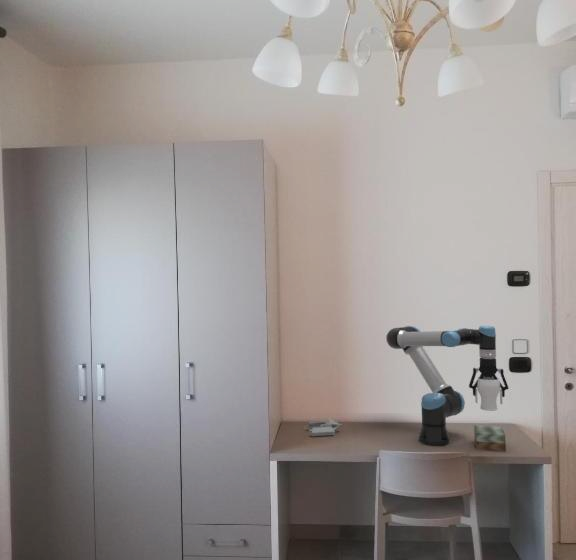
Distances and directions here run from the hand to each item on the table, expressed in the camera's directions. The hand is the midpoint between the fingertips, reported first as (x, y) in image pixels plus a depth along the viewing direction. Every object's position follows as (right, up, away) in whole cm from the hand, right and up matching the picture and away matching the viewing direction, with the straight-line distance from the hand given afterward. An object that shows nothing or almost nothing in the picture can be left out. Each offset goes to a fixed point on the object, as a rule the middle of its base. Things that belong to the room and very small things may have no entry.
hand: (488, 403), depth 246 cm
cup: (0, -3, 0) cm, 3 cm away
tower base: (0, -21, 0) cm, 21 cm away
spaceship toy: (-78, -23, +28) cm, 86 cm away
